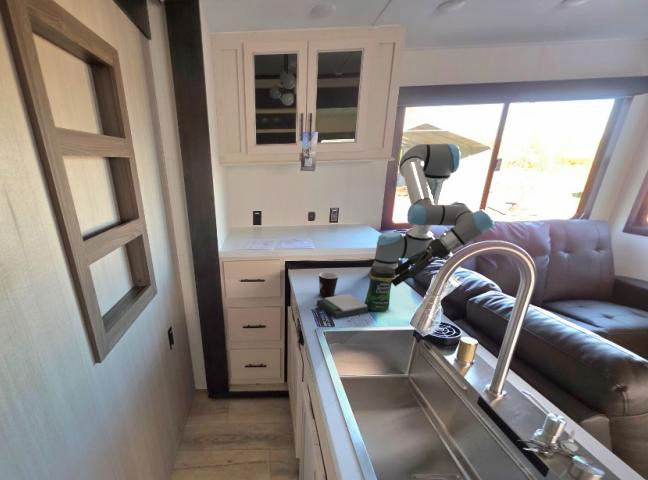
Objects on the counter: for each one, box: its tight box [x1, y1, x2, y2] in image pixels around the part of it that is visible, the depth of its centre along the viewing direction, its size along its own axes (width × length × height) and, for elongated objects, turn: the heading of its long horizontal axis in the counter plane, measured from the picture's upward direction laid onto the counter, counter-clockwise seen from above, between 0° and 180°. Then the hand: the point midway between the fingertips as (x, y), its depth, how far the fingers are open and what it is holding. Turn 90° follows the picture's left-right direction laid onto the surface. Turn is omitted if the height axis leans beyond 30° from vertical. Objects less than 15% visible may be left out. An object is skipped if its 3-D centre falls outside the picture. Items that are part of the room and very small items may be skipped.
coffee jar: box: [364, 265, 395, 312], centre depth 130 cm, size 10×8×19 cm
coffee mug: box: [318, 271, 339, 299], centre depth 146 cm, size 12×9×10 cm
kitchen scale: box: [316, 293, 370, 320], centre depth 133 cm, size 16×14×3 cm
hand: (393, 278), depth 126 cm, fingers open, 13 cm apart
